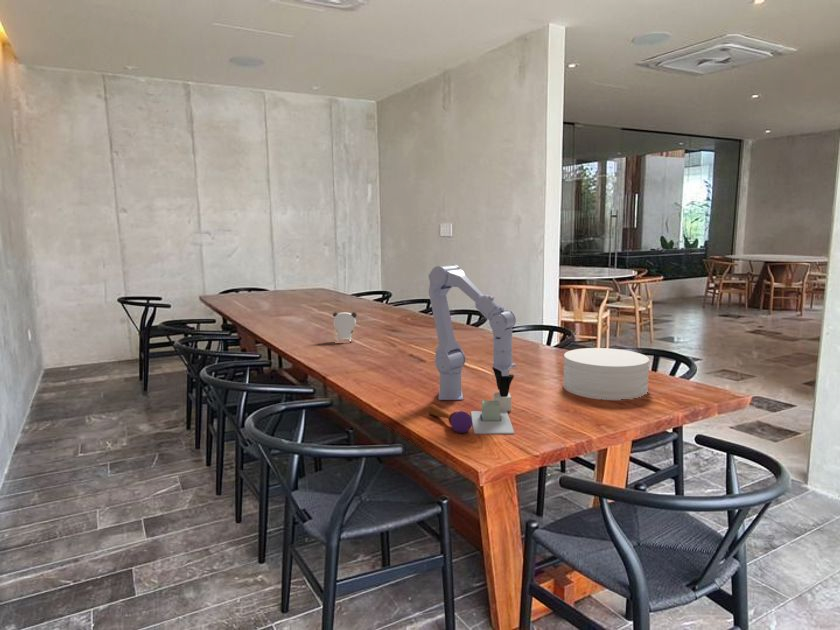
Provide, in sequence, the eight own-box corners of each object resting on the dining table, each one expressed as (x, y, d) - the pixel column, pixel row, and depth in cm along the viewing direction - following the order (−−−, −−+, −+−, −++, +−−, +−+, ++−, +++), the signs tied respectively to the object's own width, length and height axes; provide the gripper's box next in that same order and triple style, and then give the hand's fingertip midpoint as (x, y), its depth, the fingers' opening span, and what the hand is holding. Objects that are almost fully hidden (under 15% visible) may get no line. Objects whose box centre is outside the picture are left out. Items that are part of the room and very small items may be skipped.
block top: (493, 406, 177) (493, 392, 176) (509, 406, 177) (509, 392, 176) (494, 411, 172) (495, 397, 171) (511, 411, 172) (511, 397, 171)
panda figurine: (357, 339, 288) (357, 310, 285) (356, 343, 276) (355, 313, 274) (334, 339, 287) (333, 310, 285) (332, 344, 276) (331, 314, 274)
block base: (481, 414, 167) (481, 400, 166) (498, 414, 167) (498, 400, 166) (482, 420, 162) (482, 405, 161) (499, 420, 162) (500, 405, 161)
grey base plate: (470, 412, 171) (470, 411, 171) (506, 412, 170) (506, 411, 170) (474, 433, 153) (474, 432, 153) (514, 433, 153) (514, 432, 152)
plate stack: (547, 383, 202) (548, 352, 201) (609, 374, 213) (610, 345, 211) (598, 405, 177) (600, 370, 175) (666, 394, 187) (668, 361, 185)
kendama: (441, 400, 171) (477, 413, 153) (439, 419, 171) (475, 435, 153) (424, 399, 168) (459, 413, 151) (422, 419, 168) (456, 435, 151)
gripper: (518, 355, 164) (518, 399, 166) (512, 345, 178) (512, 386, 180) (494, 355, 164) (494, 399, 166) (490, 345, 179) (490, 386, 181)
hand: (502, 392), depth 173 cm, fingers open, 7 cm apart
